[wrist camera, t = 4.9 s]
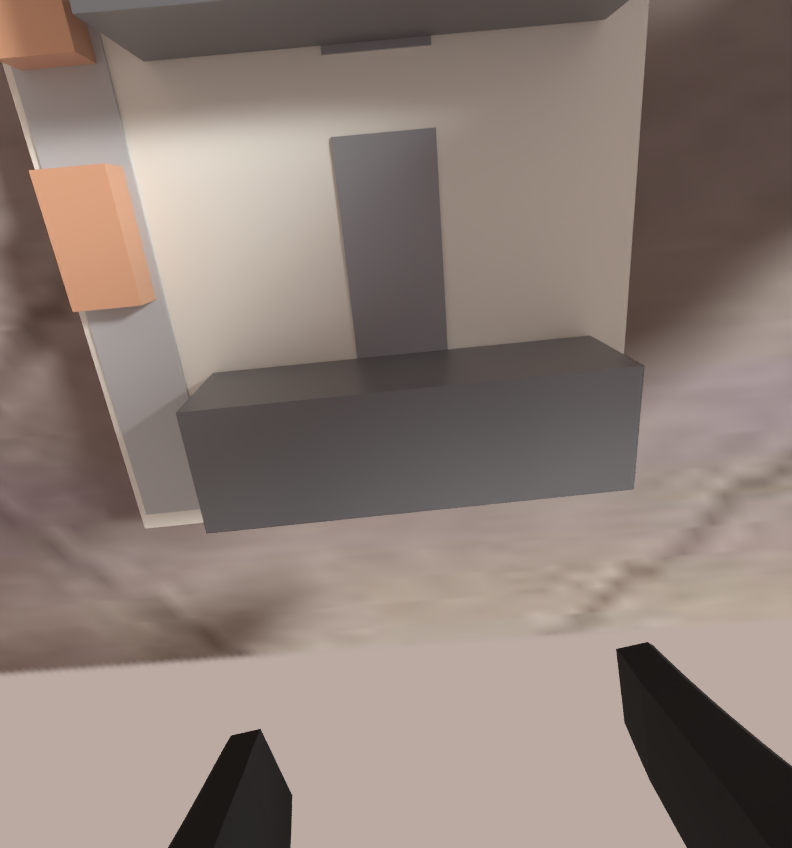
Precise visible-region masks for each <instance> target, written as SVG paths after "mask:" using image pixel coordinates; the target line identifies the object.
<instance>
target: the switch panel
mask: <svg viewBox="0 0 792 848" xmlns="http://www.w3.org/2000/svg"><path fill="white" fill-rule="evenodd" d="M648 13H649V0H629V1H628V2H626V3H625V4H624V5H623V6H621V7H620V8H619V9H618V10H616V11H615V12H614V13H613V14H611V15H610V16H609V17H608V18H606V19H605V20H596V21H585V22H574V23H563V24H552V25H541V26H530V27H519V28H508V29H497V30H486V31H475V32H464V33H453V34H442V35H431V36H420V37H409V38H398V39H387V40H376V41H365V42H354V43H343V44H332V45H321V46H310V47H299V48H288V49H277V50H265V51H254V52H243V53H232V54H221V55H210V56H199V57H188V58H177V59H166V60H155V61H142V60H141V59H139V58H138V57H136V56H135V55H133V54H132V53H130V52H129V51H127V50H126V49H124V48H123V47H121V46H120V45H118V44H117V43H115V42H114V41H112V40H111V39H109V38H108V37H106V36H105V35H103V34H102V33H100V32H99V31H97V30H96V29H94V28H93V27H91V26H90V25H88V24H87V23H85V22H84V21H82V20H81V19H79V18H78V17H76V16H75V15H73V14H72V10H71V6H70V2H69V0H0V62H2V64H3V68H4V71H5V74H6V77H7V81H8V84H9V87H10V90H11V94H12V97H13V100H14V103H15V107H16V110H17V113H18V116H19V120H20V123H21V126H22V129H23V133H24V136H25V139H26V142H27V146H28V149H29V152H30V156H31V159H32V162H33V165H34V169H35V170H29V173H30V177H31V180H32V183H33V186H34V190H35V193H36V196H37V199H38V202H39V206H40V209H41V212H42V215H43V218H44V222H45V225H46V228H47V231H48V235H49V238H50V241H51V244H52V247H53V251H54V254H55V257H56V260H57V263H58V267H59V270H60V273H61V276H62V280H63V283H64V286H65V289H66V292H67V296H68V299H69V302H70V305H71V309H72V312H79V315H80V318H81V322H82V325H83V328H84V331H85V335H86V338H87V341H88V345H89V348H90V351H91V354H92V358H93V361H94V364H95V367H96V371H97V374H98V377H99V380H100V384H101V387H102V390H103V393H104V397H105V400H106V403H107V406H108V410H109V413H110V416H111V419H112V423H113V426H114V429H115V433H116V436H117V439H118V442H119V446H120V449H121V452H122V455H123V459H124V462H125V465H126V468H127V472H128V475H129V478H130V481H131V485H132V488H133V491H134V494H135V498H136V501H137V504H138V507H139V511H140V514H141V517H142V520H143V524H144V527H145V529H146V528H156V527H166V526H175V525H185V524H195V523H204V522H203V518H202V514H201V510H200V506H199V502H198V498H197V494H196V490H195V487H194V483H193V479H192V475H191V471H190V467H189V463H188V459H187V456H186V452H185V448H184V444H183V440H182V436H181V432H180V428H179V425H178V421H177V417H176V412H177V411H178V409H179V408H180V407H181V406H182V405H183V404H184V403H185V402H186V401H187V400H188V399H189V398H190V397H191V396H192V395H193V394H194V393H195V392H196V390H197V389H198V388H199V387H200V386H201V385H202V384H203V383H204V382H205V381H206V380H207V379H208V378H209V377H210V376H211V375H212V374H213V373H217V372H227V371H237V370H247V369H257V368H267V367H277V366H288V365H298V364H308V363H318V362H328V361H338V360H348V359H358V358H368V357H378V356H388V355H398V354H409V353H419V352H429V351H439V350H449V349H459V348H469V347H479V346H489V345H499V344H509V343H519V342H529V341H540V340H550V339H560V338H570V337H580V336H592V337H594V338H596V339H597V340H599V341H601V342H603V343H605V344H606V345H608V346H610V347H612V348H613V349H615V350H617V351H619V352H621V353H622V354H624V348H625V334H626V320H627V306H628V292H629V278H630V264H631V250H632V236H633V222H634V208H635V194H636V180H637V167H638V153H639V139H640V125H641V111H642V97H643V83H644V69H645V55H646V41H647V27H648Z"/></svg>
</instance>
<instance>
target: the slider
mask: <svg viewBox="0 0 792 848" xmlns="http://www.w3.org/2000/svg"><path fill="white" fill-rule="evenodd" d="M643 376H644V365H642V364H640V363H639V362H637V361H635V360H633V359H631V358H630V357H628V356H626V355H624V354H622V353H621V352H619V351H617V350H615V349H613V348H612V347H610V346H608V345H606V344H605V343H603V342H601V341H599V340H597V339H596V338H594V337H592V336H580V337H570V338H560V339H550V340H540V341H529V342H519V343H509V344H499V345H489V346H479V347H469V348H459V349H449V350H439V351H429V352H419V353H409V354H398V355H388V356H378V357H368V358H358V359H348V360H338V361H328V362H318V363H308V364H298V365H288V366H277V367H267V368H257V369H247V370H237V371H227V372H217V373H213V374H212V375H211V376H210V377H209V378H208V379H207V380H206V381H205V382H204V383H203V384H202V385H201V386H200V387H199V388H198V389H197V390H196V392H195V393H194V394H193V395H192V396H191V397H190V398H189V399H188V400H187V401H186V402H185V403H184V404H183V405H182V406H181V407H180V408H179V409H178V411H177V412H176V417H177V421H178V425H179V428H180V432H181V436H182V440H183V444H184V448H185V452H186V456H187V459H188V463H189V467H190V471H191V475H192V479H193V483H194V487H195V490H196V494H197V498H198V502H199V506H200V510H201V514H202V518H203V522H204V525H205V529H206V533H217V532H226V531H236V530H246V529H255V528H265V527H275V526H284V525H294V524H304V523H313V522H323V521H333V520H342V519H352V518H362V517H371V516H381V515H391V514H400V513H410V512H420V511H429V510H439V509H449V508H458V507H468V506H478V505H487V504H497V503H507V502H516V501H526V500H536V499H545V498H555V497H565V496H574V495H584V494H594V493H603V492H613V491H623V490H632V489H634V480H635V469H636V457H637V446H638V434H639V423H640V411H641V399H642V388H643Z"/></svg>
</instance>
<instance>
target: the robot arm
mask: <svg viewBox="0 0 792 848" xmlns="http://www.w3.org/2000/svg"><path fill="white" fill-rule="evenodd" d="M616 651H617V660H618V669H619V677H620V686H621V695H622V703H623V712H624V721H625V724H626V727H627V729H628V731H629V734H630V736H631V739H632V741H633V743H634V745H635V748H636V750H637V752H638V755H639V757H640V759H641V761H642V764H643V766H644V768H645V770H646V772H647V775H648V777H649V779H650V781H651V783H652V785H653V787H654V789H655V790H656V792H657V794H658V796H659V798H660V800H661V802H662V803H663V805H664V807H665V809H666V811H667V813H668V814H669V816H670V818H671V820H672V821H673V823H674V825H675V827H676V829H677V831H678V832H679V834H680V836H681V838H682V840H683V841H684V843H685V845H686V847H687V848H792V766H791V765H790V764H788V763H787V762H786V761H785V760H783V759H782V758H781V757H779V756H778V755H777V754H776V753H775V752H773V751H772V750H771V749H770V748H768V747H767V746H766V745H765V744H763V743H762V742H761V741H760V740H759V739H757V738H756V737H755V736H754V735H753V734H751V733H750V732H749V731H748V730H746V729H745V728H744V727H743V726H742V725H740V724H739V723H738V722H737V721H736V720H735V719H733V718H732V717H731V716H730V715H729V714H727V713H726V712H725V711H724V710H723V709H722V708H720V707H719V706H718V705H717V704H716V703H715V702H713V701H712V700H711V699H710V698H709V697H708V696H707V695H706V694H704V693H703V692H702V691H701V690H700V689H699V688H698V687H697V686H696V685H694V684H693V683H692V682H691V681H690V680H689V679H688V678H687V677H686V676H685V675H683V674H682V673H681V672H680V671H679V670H678V669H677V668H676V667H675V666H674V665H673V664H672V663H671V662H670V661H669V660H667V658H666V657H664V656H663V655H662V654H661V653H660V652H659V651H658V650H657V649H656V648H655V647H654V646H653V645H651V644H649V643H648V642H646V643H641V644H637V645H632V646H629V647H624V648H619V649H616ZM291 816H292V794H291V792H290V790H289V788H288V786H287V784H286V782H285V780H284V777H283V775H282V773H281V771H280V769H279V767H278V765H277V763H276V761H275V758H274V756H273V754H272V752H271V750H270V748H269V746H268V744H267V742H266V740H265V738H264V736H263V733H262V731H261V729H258V730H254V731H250V732H246V733H241V734H236V735H232V736H231V737H230V739H229V740H228V742H227V744H226V745H225V747H224V749H223V751H222V752H221V755H220V756H219V758H218V760H217V762H216V764H215V765H214V767H213V769H212V771H211V772H210V774H209V776H208V778H207V780H206V782H205V784H204V785H203V787H202V789H201V791H200V793H199V795H198V796H197V798H196V800H195V802H194V803H193V805H192V807H191V809H190V811H189V812H188V814H187V816H186V818H185V820H184V821H183V823H182V825H181V826H180V828H179V830H178V832H177V833H176V835H175V837H174V838H173V840H172V842H171V844H170V845H169V847H168V848H290V843H291Z"/></svg>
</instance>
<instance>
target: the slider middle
mask: <svg viewBox="0 0 792 848" xmlns="http://www.w3.org/2000/svg"><path fill="white" fill-rule="evenodd" d="M628 1H629V0H69V2H70V6H71V10H72V14H73V15H75V16H76V17H78V18H79V19H81V20H82V21H84V22H85V23H87V24H88V25H90V26H91V27H93V28H94V29H96V30H97V31H99V32H100V33H102V34H103V35H105V36H106V37H108V38H109V39H111V40H112V41H114V42H115V43H117V44H118V45H120V46H121V47H123V48H124V49H126V50H127V51H129V52H130V53H132V54H133V55H135V56H136V57H138V58H139V59H141V60H142V61H155V60H166V59H177V58H188V57H199V56H210V55H221V54H232V53H243V52H254V51H265V50H277V49H288V48H299V47H310V46H321V45H332V44H343V43H354V42H365V41H376V40H387V39H398V38H409V37H420V36H431V35H442V34H453V33H464V32H475V31H486V30H497V29H508V28H519V27H530V26H541V25H552V24H563V23H574V22H585V21H596V20H605V19H606V18H608V17H609V16H610V15H611V14H613V13H614V12H615V11H616V10H618V9H619V8H620V7H621V6H623V5H624V4H625V3H626V2H628Z"/></svg>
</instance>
